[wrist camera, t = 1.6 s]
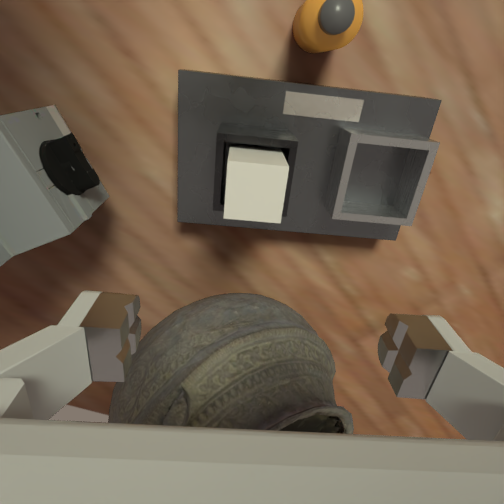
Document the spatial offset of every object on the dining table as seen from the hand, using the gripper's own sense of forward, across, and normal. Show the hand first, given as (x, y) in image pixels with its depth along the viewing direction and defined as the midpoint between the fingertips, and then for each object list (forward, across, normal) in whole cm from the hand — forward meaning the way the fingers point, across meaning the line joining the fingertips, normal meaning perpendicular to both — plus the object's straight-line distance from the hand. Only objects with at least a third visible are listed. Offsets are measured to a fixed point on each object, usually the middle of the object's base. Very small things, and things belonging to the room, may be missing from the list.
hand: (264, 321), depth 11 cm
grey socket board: (+24, -4, 0) cm, 24 cm away
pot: (+24, 0, +20) cm, 31 cm away
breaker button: (+17, 0, 0) cm, 17 cm away
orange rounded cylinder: (+23, -4, -10) cm, 26 cm away
